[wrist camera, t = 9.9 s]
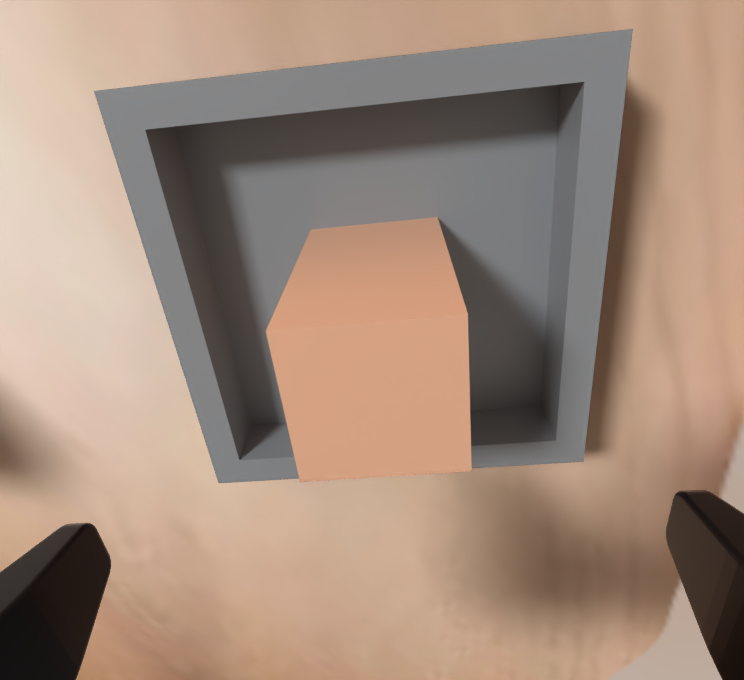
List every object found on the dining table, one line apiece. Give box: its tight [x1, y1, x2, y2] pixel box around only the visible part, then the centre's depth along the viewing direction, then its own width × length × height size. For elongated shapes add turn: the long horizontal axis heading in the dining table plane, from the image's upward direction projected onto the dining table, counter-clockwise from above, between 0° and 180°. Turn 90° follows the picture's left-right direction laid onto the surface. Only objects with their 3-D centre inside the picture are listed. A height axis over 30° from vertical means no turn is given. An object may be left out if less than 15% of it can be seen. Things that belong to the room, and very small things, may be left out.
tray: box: [94, 29, 633, 483], centre depth 17 cm, size 13×13×3 cm
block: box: [266, 217, 472, 482], centre depth 14 cm, size 4×4×7 cm
